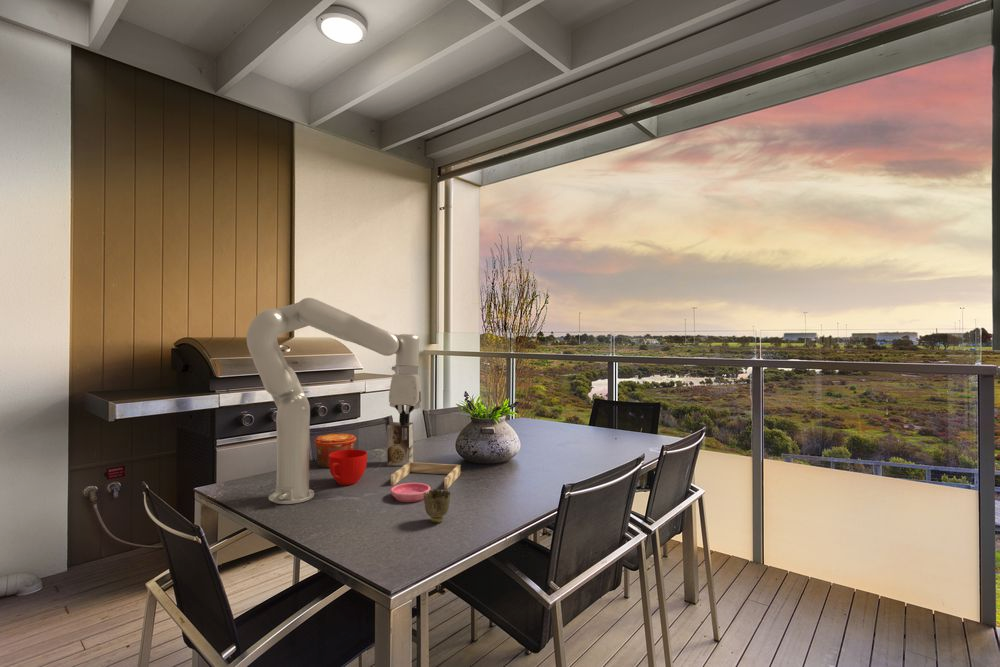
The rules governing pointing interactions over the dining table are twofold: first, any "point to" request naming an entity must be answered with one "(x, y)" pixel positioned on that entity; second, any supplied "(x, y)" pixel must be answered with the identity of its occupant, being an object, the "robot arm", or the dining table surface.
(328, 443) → the food container
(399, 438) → the coffee box
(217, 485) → the dining table surface
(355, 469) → the ceramic cup
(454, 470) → the oak cubby
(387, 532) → the dining table surface
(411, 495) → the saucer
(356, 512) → the dining table surface
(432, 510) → the cup
